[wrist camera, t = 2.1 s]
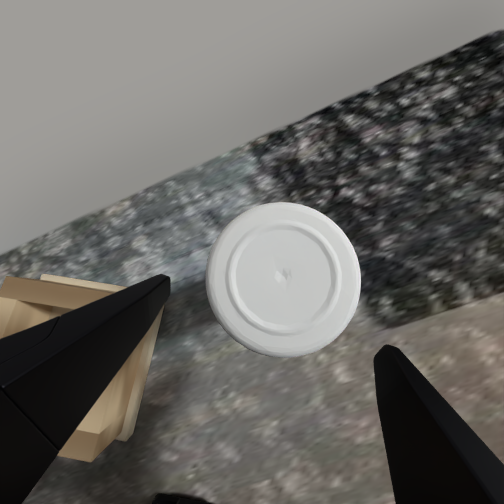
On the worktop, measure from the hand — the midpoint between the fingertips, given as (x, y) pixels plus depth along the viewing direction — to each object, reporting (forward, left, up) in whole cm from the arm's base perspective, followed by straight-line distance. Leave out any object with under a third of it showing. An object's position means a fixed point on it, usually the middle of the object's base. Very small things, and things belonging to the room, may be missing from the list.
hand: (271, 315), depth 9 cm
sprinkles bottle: (+2, 0, -10) cm, 11 cm away
